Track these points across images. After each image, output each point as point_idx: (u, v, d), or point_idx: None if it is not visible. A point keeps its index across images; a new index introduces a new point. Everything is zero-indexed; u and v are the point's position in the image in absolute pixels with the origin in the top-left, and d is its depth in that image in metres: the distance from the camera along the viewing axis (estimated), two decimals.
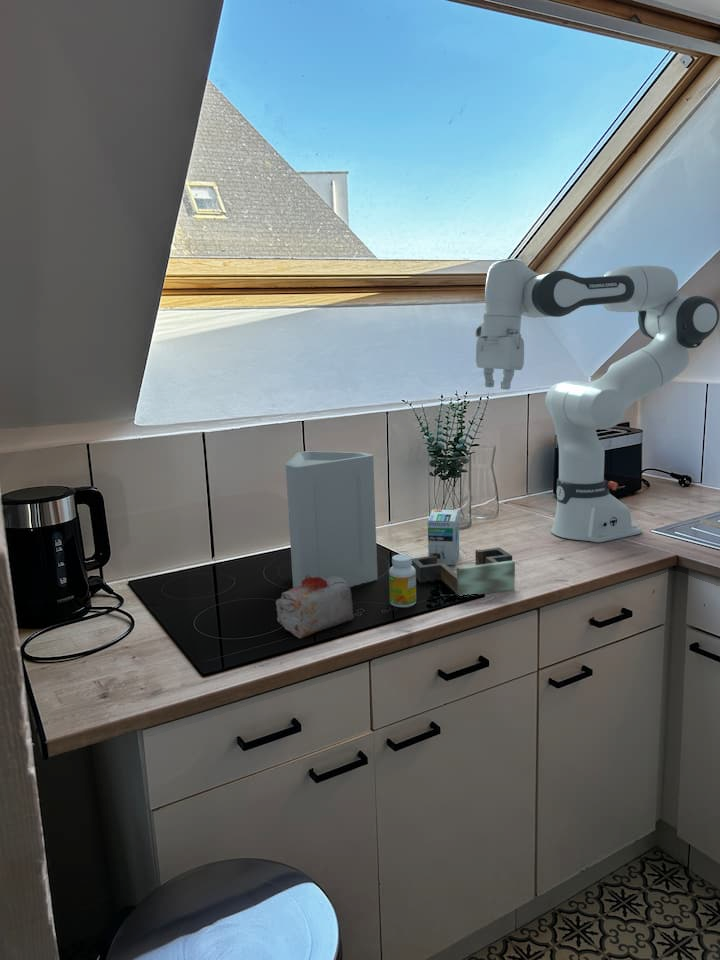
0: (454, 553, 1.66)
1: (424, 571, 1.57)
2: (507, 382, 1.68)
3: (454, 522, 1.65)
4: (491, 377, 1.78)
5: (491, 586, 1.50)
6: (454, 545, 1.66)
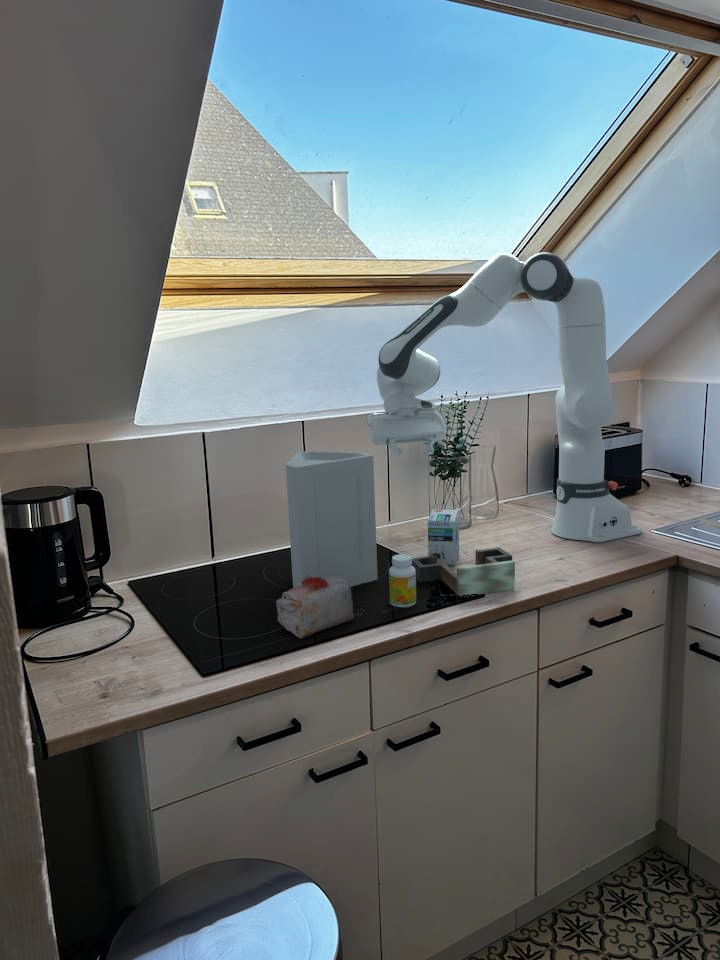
0: (454, 553, 1.66)
1: (424, 571, 1.57)
2: (394, 450, 1.86)
3: (454, 522, 1.65)
4: (430, 444, 1.88)
5: (491, 586, 1.50)
6: (454, 545, 1.66)
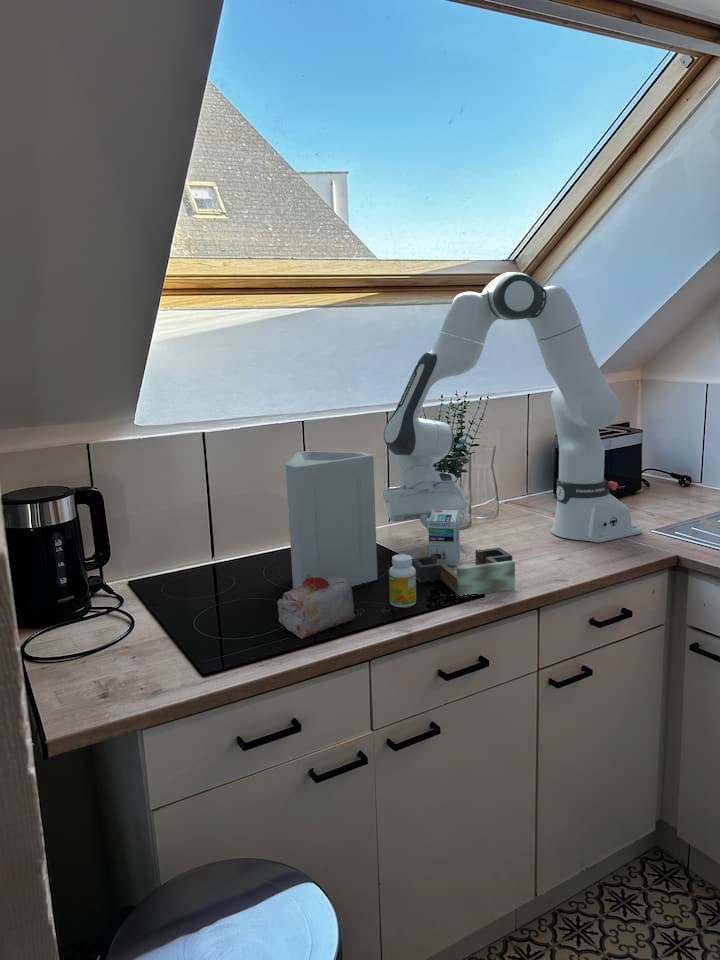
0: (455, 553, 1.66)
1: (424, 571, 1.57)
2: (427, 526, 1.78)
3: (455, 522, 1.65)
4: None
5: (491, 586, 1.50)
6: (455, 545, 1.66)
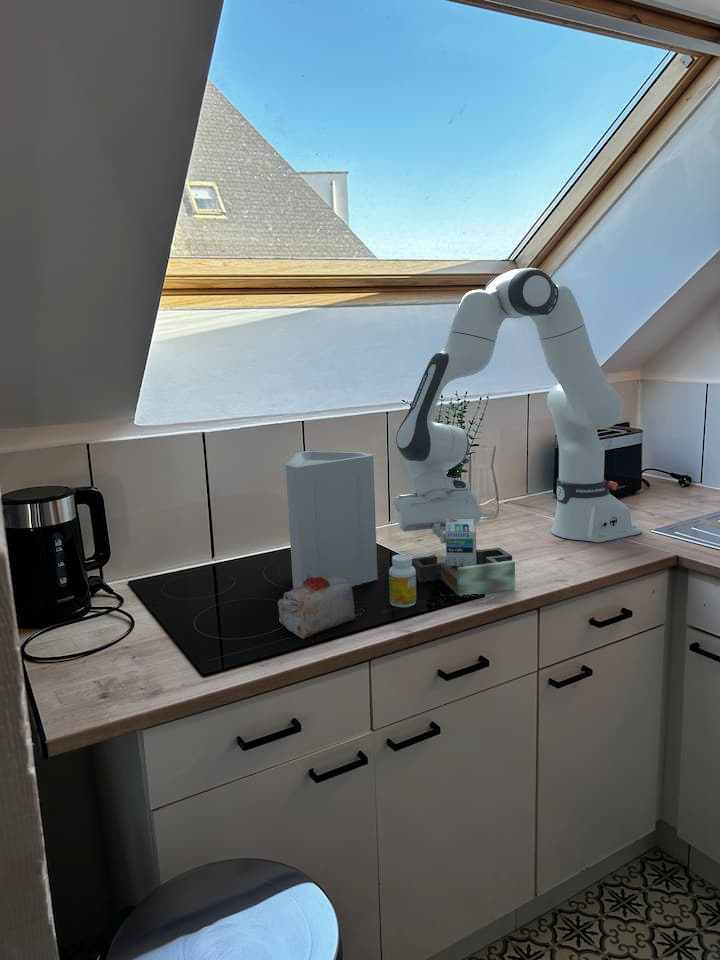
0: None
1: (424, 571, 1.57)
2: (440, 536, 1.69)
3: (474, 532, 1.56)
4: None
5: (491, 586, 1.50)
6: (474, 557, 1.57)
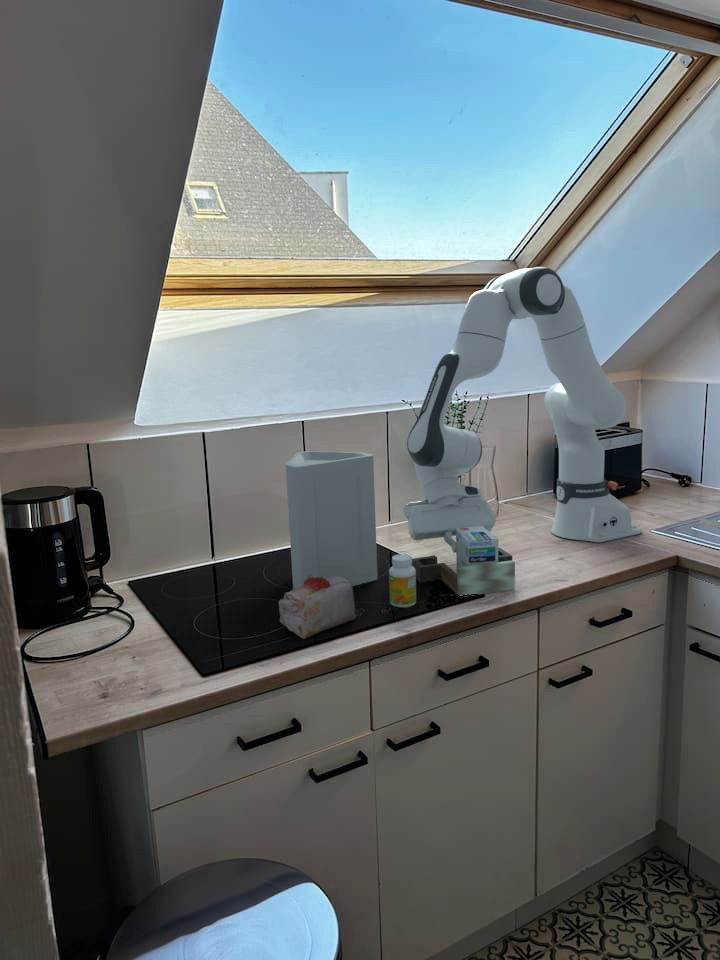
0: None
1: (424, 571, 1.57)
2: (452, 545, 1.63)
3: (497, 540, 1.51)
4: None
5: (491, 586, 1.50)
6: None
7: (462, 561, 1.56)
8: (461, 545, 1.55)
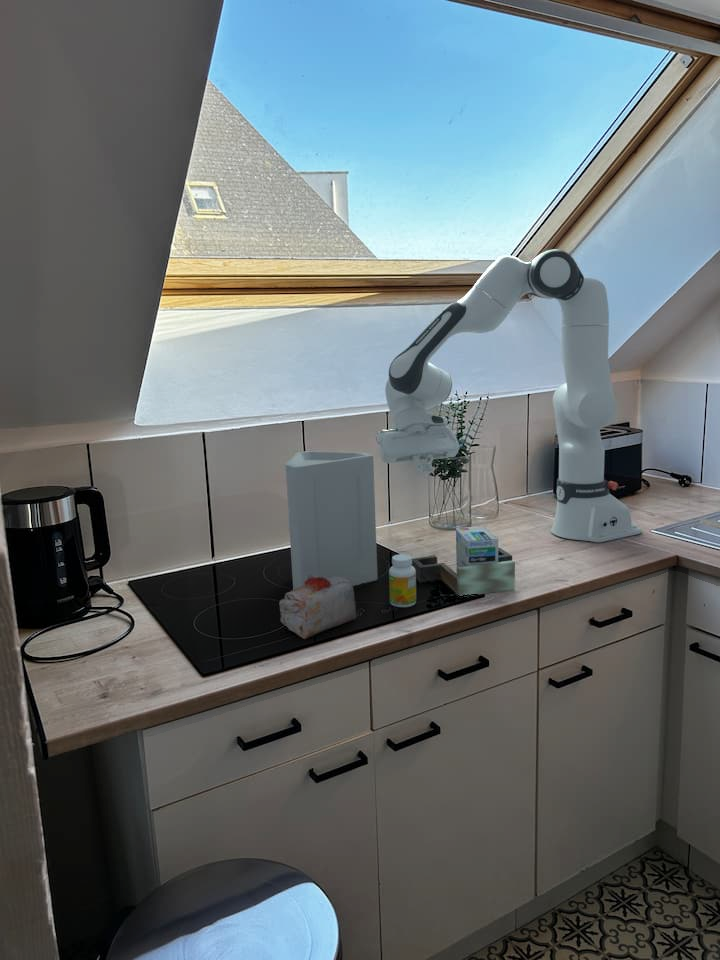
0: None
1: (424, 571, 1.57)
2: (419, 467, 1.79)
3: (497, 540, 1.51)
4: (429, 462, 1.80)
5: (491, 586, 1.50)
6: None
7: (462, 561, 1.56)
8: (461, 545, 1.55)
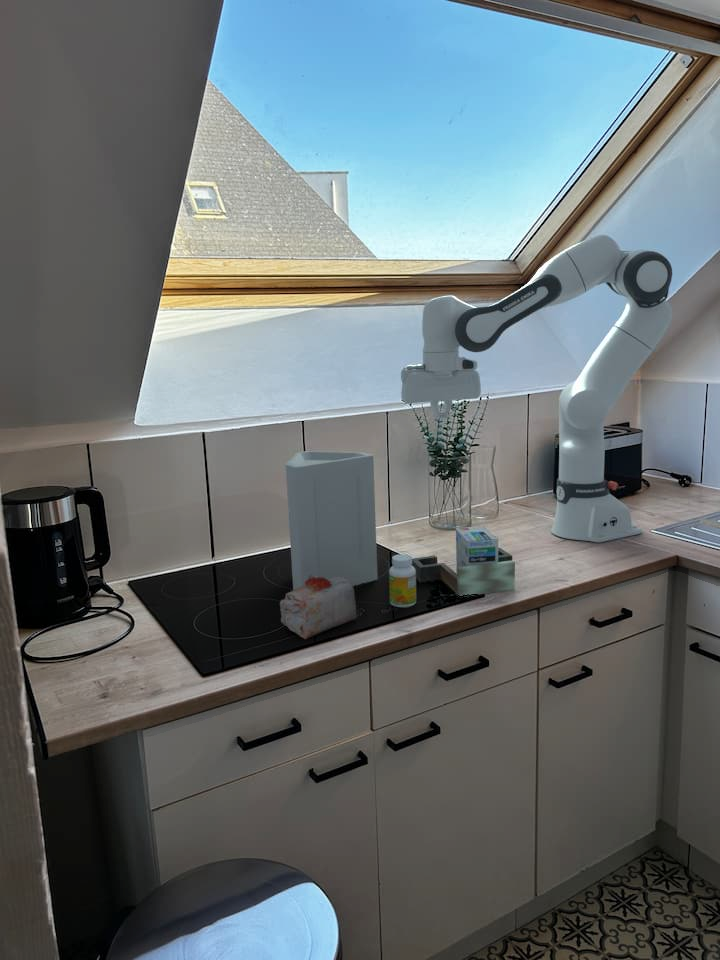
0: None
1: (424, 571, 1.57)
2: (435, 412, 1.82)
3: (497, 540, 1.51)
4: (446, 409, 1.82)
5: (491, 586, 1.50)
6: None
7: (462, 561, 1.56)
8: (461, 545, 1.55)
